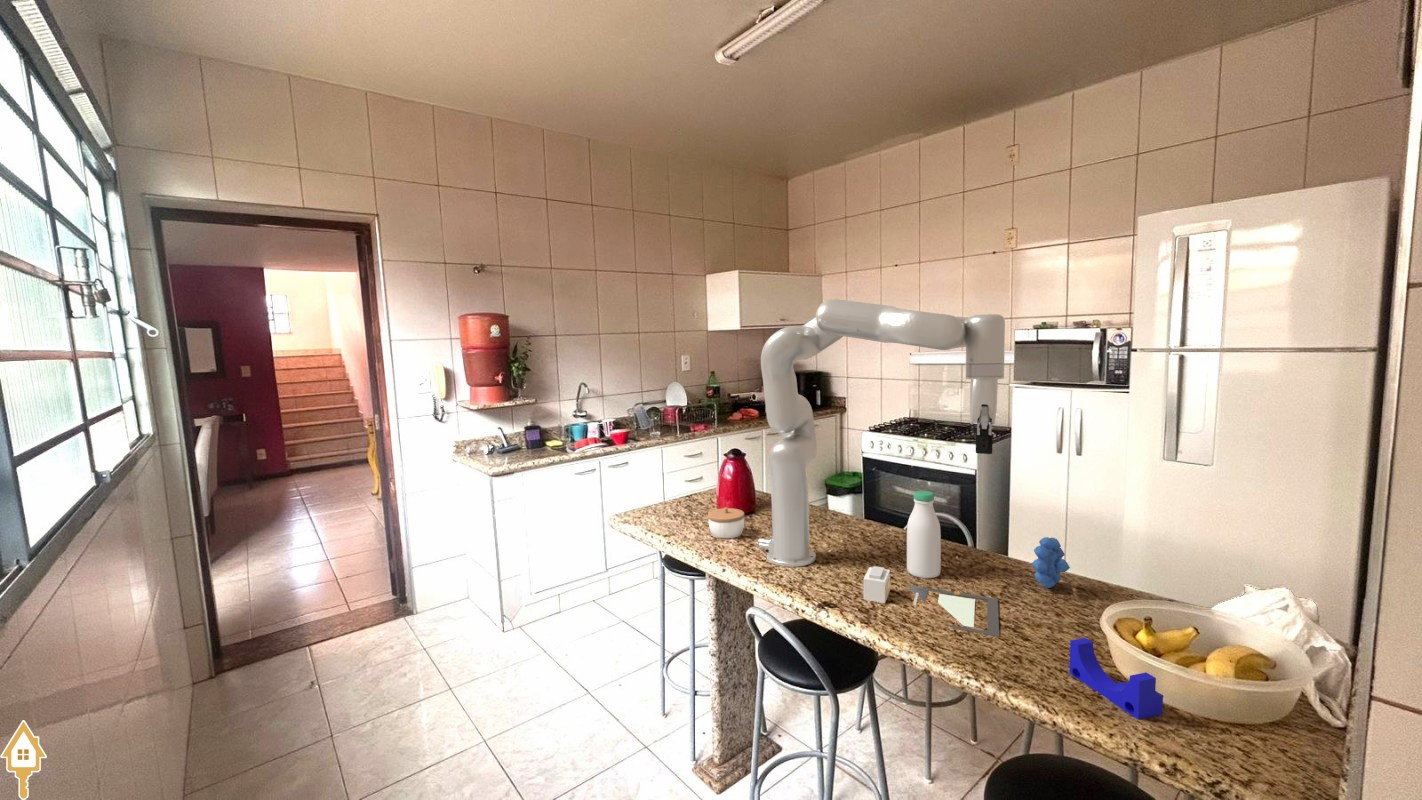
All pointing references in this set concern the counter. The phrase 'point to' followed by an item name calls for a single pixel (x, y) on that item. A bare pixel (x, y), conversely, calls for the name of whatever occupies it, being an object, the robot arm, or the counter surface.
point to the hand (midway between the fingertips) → (983, 449)
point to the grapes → (1049, 562)
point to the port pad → (959, 608)
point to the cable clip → (1127, 696)
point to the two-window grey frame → (991, 602)
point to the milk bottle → (923, 538)
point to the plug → (876, 584)
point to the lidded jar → (726, 522)
